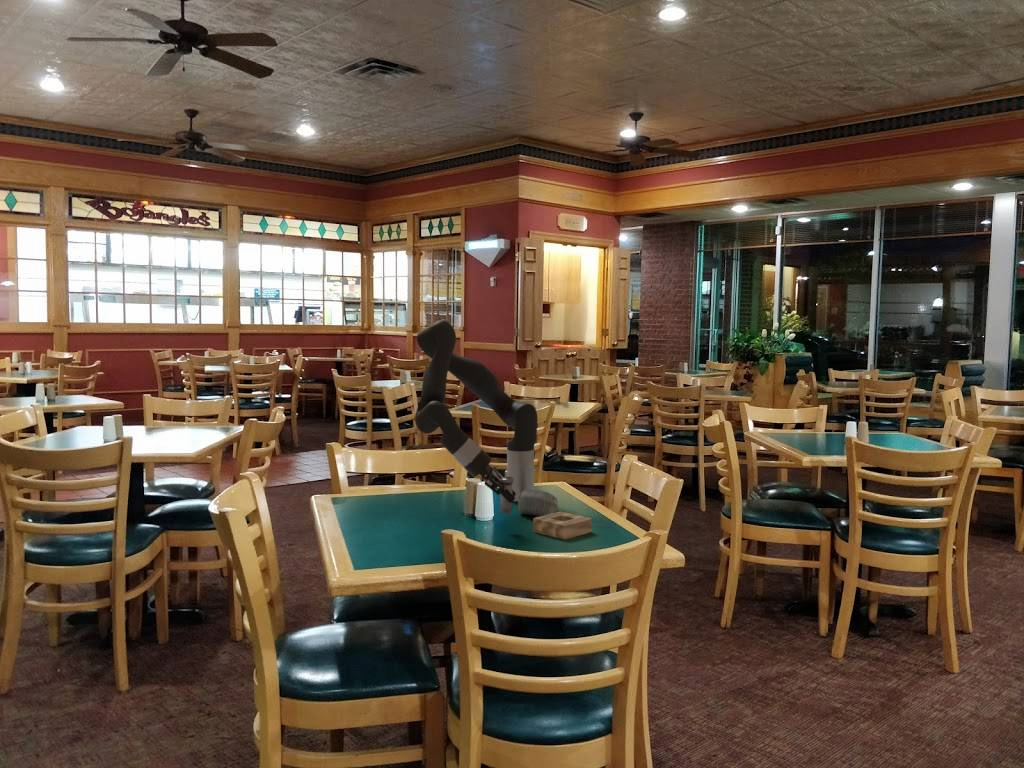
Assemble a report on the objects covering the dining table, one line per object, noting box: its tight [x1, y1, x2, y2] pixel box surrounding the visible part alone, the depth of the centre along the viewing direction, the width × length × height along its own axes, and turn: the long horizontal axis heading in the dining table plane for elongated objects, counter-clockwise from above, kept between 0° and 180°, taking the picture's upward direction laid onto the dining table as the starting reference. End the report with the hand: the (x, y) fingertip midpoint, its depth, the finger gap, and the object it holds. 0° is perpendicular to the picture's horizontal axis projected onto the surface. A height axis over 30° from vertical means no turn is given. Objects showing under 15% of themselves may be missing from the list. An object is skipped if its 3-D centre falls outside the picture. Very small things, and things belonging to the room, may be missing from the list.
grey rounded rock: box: [517, 489, 559, 517], centre depth 257 cm, size 14×10×10 cm
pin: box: [500, 476, 514, 515], centre depth 239 cm, size 4×4×10 cm
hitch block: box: [532, 511, 593, 541], centre depth 239 cm, size 12×12×4 cm
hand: (513, 498), depth 239 cm, fingers closed on pin, 3 cm apart
